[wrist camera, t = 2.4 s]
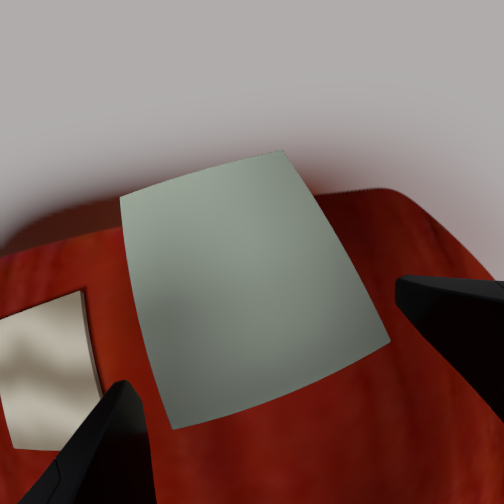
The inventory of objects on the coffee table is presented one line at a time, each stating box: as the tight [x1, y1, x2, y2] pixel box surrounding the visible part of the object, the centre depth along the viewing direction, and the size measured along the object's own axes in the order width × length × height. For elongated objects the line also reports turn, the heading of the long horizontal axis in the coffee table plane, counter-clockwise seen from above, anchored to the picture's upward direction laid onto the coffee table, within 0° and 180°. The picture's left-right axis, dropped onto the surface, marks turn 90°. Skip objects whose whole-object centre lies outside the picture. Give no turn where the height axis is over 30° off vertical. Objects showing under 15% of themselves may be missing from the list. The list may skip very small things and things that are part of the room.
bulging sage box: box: [120, 150, 391, 430], centre depth 13 cm, size 9×7×10 cm
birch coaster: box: [0, 291, 103, 450], centre depth 15 cm, size 12×12×1 cm
